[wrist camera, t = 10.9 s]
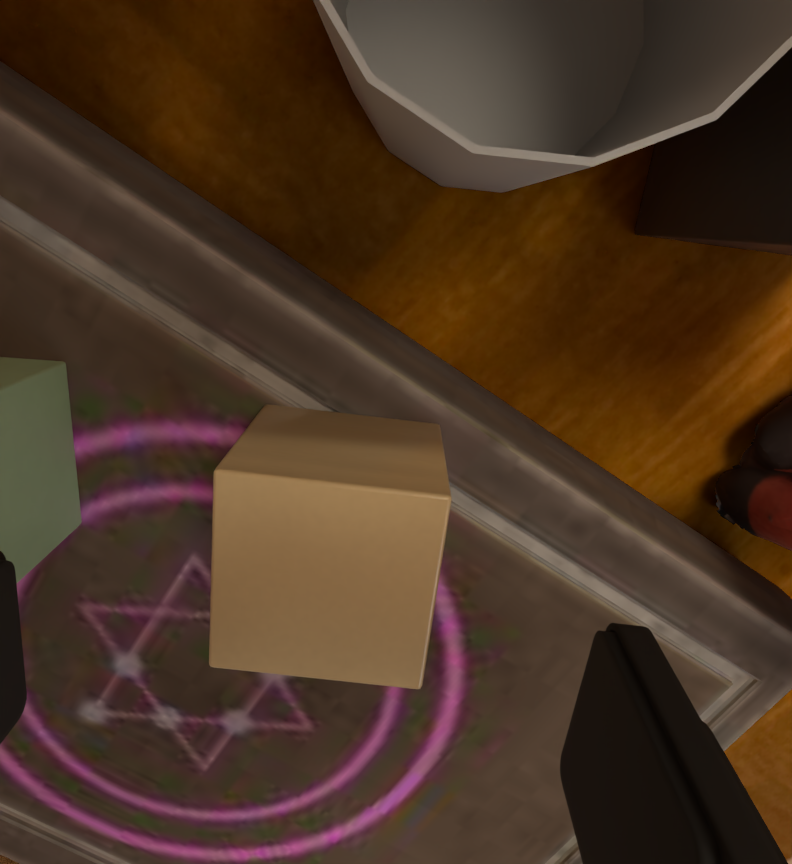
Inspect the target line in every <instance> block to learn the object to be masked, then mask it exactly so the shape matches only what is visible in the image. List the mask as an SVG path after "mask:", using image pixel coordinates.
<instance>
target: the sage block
mask: <svg viewBox="0 0 792 864" xmlns="http://www.w3.org/2000/svg"><path fill="white" fill-rule="evenodd" d="M81 522H82V520H81V510H80V500H79V490H78V480H77V470H76V460H75V450H74V440H73V430H72V420H71V410H70V400H69V390H68V380H67V370H66V363H65V362H63V361H50V360H36V359H22V358H8V357H0V551H1V552H3V554H4V555H5V557H6V560H7V561H11V562H12V563H13V564H14V567H15V573H16V583H18V582H19V581H20V580H21V579H22V578H23V577H24V576H25V575H26V574H27V573H29V572H30V571H31V570H32V569H33V568H34V567H35V566H36V565H37V564H38V563H39V562H40V561H41V560H43V559H44V558H45V557H46V556H47V555H48V554H49V553H50V552H51V551H52V550H53V549H54V548H55V547H57V546H58V545H59V544H60V543H61V542H62V541H63V540H64V539H65V538H66V537H67V536H68V535H69V534H71V533H72V532H73V531H74V530H75V529H76V528H77V527H78V526H79V525H80V524H81Z"/></svg>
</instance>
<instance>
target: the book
mask: <svg viewBox="0 0 792 864" xmlns="http://www.w3.org/2000/svg"><path fill="white" fill-rule="evenodd" d="M0 357H8V358H22V359H36V360H50V361H63V362H65V363H66V370H67V380H68V390H69V400H70V410H71V420H72V430H73V440H74V450H75V460H76V470H77V480H78V490H79V500H80V510H81V520H82V522H81V524H80V525H79V526H78V527H77V528H76V529H75V530H74V531H73V532H72V533H71V534H69V535H68V536H67V537H66V538H65V539H64V540H63V541H62V542H61V543H60V544H59V545H58V546H57V547H55V548H54V549H53V550H52V551H51V552H50V553H49V554H48V555H47V556H46V557H45V558H44V559H43V560H41V561H40V562H39V563H38V564H37V565H36V566H35V567H34V568H33V569H32V570H31V571H30V572H29V573H27V574H26V575H25V576H24V577H23V578H22V579H21V580H20V581H19V582H18V583H17V594H18V605H19V615H20V626H21V636H22V647H23V658H24V668H25V679H26V689H27V700H26V705H25V708H24V711H23V713H22V715H21V717H20V719H19V720H18V722H17V723H16V724H15V726H14V727H13V728H12V730H11V731H10V732H9V734H8V735H7V736H6V737H5V739H4V740H3V741H2V743H1V744H0V855H2V856H5V857H7V858H9V859H11V860H14V861H16V862H18V863H20V864H583V862H582V859H581V855H580V851H579V847H578V843H577V840H576V836H575V832H574V828H573V824H572V820H571V817H570V813H569V809H568V805H567V801H566V798H565V794H564V790H563V786H562V782H561V776H560V759H561V754H562V750H563V747H564V743H565V739H566V736H567V732H568V729H569V725H570V721H571V718H572V714H573V711H574V707H575V703H576V700H577V696H578V693H579V689H580V686H581V682H582V678H583V675H584V671H585V668H586V664H587V660H588V657H589V653H590V650H591V646H592V642H593V639H594V636H595V634H596V632H597V631H599V630H600V631H606V628H607V626H608V625H609V624H611V623H619V624H627V625H636V626H644V627H647V628H649V629H650V631H651V632H652V634H653V635H654V637H655V639H656V641H657V643H658V644H659V646H660V648H661V650H662V651H663V653H664V655H665V657H666V658H667V660H668V662H669V664H670V665H671V667H672V669H673V671H674V673H675V674H676V676H677V678H678V680H679V681H680V683H681V685H682V687H683V688H684V690H685V692H686V694H687V696H688V697H689V699H690V701H691V703H692V704H693V706H694V708H695V710H696V711H697V713H698V715H699V717H700V718H701V720H702V721H703V722H705V723H706V724H707V725H708V727H709V728H710V729H711V731H712V732H713V734H714V735H715V737H716V739H717V741H718V742H719V744H720V746H721V748H722V749H723V751H725V750H726V749H727V748H728V747H729V746H730V745H731V744H732V743H733V742H734V741H736V740H737V739H738V738H739V737H740V736H741V735H742V734H743V733H744V732H745V731H746V730H748V729H749V728H750V727H751V726H752V725H753V724H754V723H755V722H756V721H757V720H758V719H760V718H761V717H762V716H763V715H764V714H765V713H766V712H767V711H768V710H769V709H770V708H771V707H773V706H774V705H775V704H776V703H777V702H778V701H779V700H780V699H781V698H782V697H783V696H785V695H786V694H787V693H788V692H789V691H790V690H791V689H792V599H791V598H790V597H789V596H788V595H787V594H786V593H784V592H783V591H782V590H781V589H780V588H779V587H778V586H776V585H775V584H773V583H772V582H770V581H769V580H767V579H766V578H765V577H763V576H762V575H760V574H759V573H757V572H756V571H754V570H753V569H751V568H750V567H748V566H747V565H745V564H744V563H742V562H741V561H739V560H738V559H736V558H735V557H733V556H732V555H730V554H729V553H728V552H726V551H725V550H723V549H722V548H720V547H719V546H717V545H716V544H714V543H713V542H711V541H710V540H708V539H707V538H705V537H704V536H702V535H701V534H699V533H698V532H696V531H695V530H694V529H692V528H691V527H689V526H688V525H686V524H685V523H683V522H682V521H680V520H679V519H677V518H676V517H674V516H673V515H671V514H670V513H668V512H667V511H665V510H664V509H662V508H661V507H659V506H658V505H657V504H655V503H654V502H652V501H651V500H649V499H648V498H646V497H645V496H643V495H642V494H640V493H639V492H637V491H636V490H634V489H633V488H631V487H630V486H628V485H627V484H625V483H624V482H622V481H621V480H620V479H618V478H617V477H615V476H614V475H612V474H611V473H609V472H608V471H606V470H605V469H603V468H602V467H600V466H599V465H597V464H596V463H594V462H593V461H591V460H590V459H588V458H587V457H585V456H584V455H583V454H581V453H580V452H578V451H577V450H575V449H574V448H572V447H571V446H569V445H568V444H566V443H565V442H563V441H562V440H560V439H559V438H557V437H556V436H554V435H553V434H551V433H550V432H548V431H547V430H546V429H544V428H543V427H541V426H540V425H538V424H537V423H535V422H534V421H532V420H531V419H529V418H528V417H526V416H525V415H523V414H522V413H520V412H519V411H517V410H516V409H514V408H513V407H511V406H510V405H509V404H507V403H506V402H504V401H503V400H501V399H500V398H498V397H497V396H495V395H494V394H492V393H491V392H489V391H488V390H486V389H485V388H483V387H482V386H480V385H479V384H477V383H476V382H474V381H473V380H472V379H470V378H469V377H467V376H466V375H464V374H463V373H461V372H460V371H458V370H457V369H455V368H454V367H452V366H451V365H449V364H448V363H446V362H445V361H443V360H442V359H440V358H439V357H437V356H436V355H435V354H433V353H432V352H430V351H429V350H427V349H426V348H424V347H423V346H421V345H420V344H418V343H417V342H415V341H414V340H412V339H411V338H409V337H408V336H406V335H405V334H403V333H402V332H400V331H399V330H398V329H396V328H395V327H393V326H392V325H390V324H389V323H387V322H386V321H384V320H383V319H381V318H380V317H378V316H377V315H375V314H374V313H372V312H371V311H369V310H368V309H366V308H365V307H363V306H362V305H361V304H359V303H358V302H356V301H355V300H353V299H352V298H350V297H349V296H347V295H346V294H344V293H343V292H341V291H340V290H338V289H337V288H335V287H334V286H332V285H331V284H329V283H328V282H326V281H325V280H324V279H322V278H321V277H319V276H318V275H316V274H315V273H313V272H312V271H310V270H309V269H307V268H306V267H304V266H303V265H301V264H300V263H298V262H297V261H295V260H294V259H292V258H291V257H289V256H288V255H287V254H285V253H284V252H282V251H281V250H279V249H278V248H276V247H275V246H273V245H272V244H270V243H269V242H267V241H266V240H264V239H263V238H261V237H260V236H258V235H257V234H255V233H254V232H252V231H251V230H250V229H248V228H247V227H245V226H244V225H242V224H241V223H239V222H238V221H236V220H235V219H233V218H232V217H230V216H229V215H227V214H226V213H224V212H223V211H221V210H220V209H218V208H217V207H215V206H214V205H213V204H211V203H210V202H208V201H207V200H205V199H204V198H202V197H201V196H199V195H198V194H196V193H195V192H193V191H192V190H190V189H189V188H187V187H186V186H184V185H183V184H181V183H180V182H178V181H177V180H176V179H174V178H173V177H171V176H170V175H168V174H167V173H165V172H164V171H162V170H161V169H159V168H158V167H156V166H155V165H153V164H152V163H150V162H149V161H147V160H146V159H144V158H143V157H141V156H140V155H139V154H137V153H136V152H134V151H133V150H131V149H130V148H128V147H127V146H125V145H124V144H122V143H121V142H119V141H118V140H116V139H115V138H113V137H112V136H110V135H109V134H107V133H106V132H104V131H103V130H102V129H100V128H99V127H97V126H96V125H94V124H93V123H91V122H90V121H88V120H87V119H85V118H84V117H82V116H81V115H79V114H78V113H76V112H75V111H73V110H72V109H70V108H69V107H67V106H66V105H65V104H63V103H62V102H60V101H59V100H57V99H56V98H54V97H53V96H51V95H50V94H48V93H47V92H45V91H44V90H42V89H41V88H39V87H38V86H36V85H35V84H33V83H32V82H30V81H29V80H28V79H26V78H25V77H23V76H22V75H20V74H19V73H17V72H16V71H14V70H13V69H11V68H10V67H8V66H7V65H5V64H4V63H2V62H1V61H0ZM267 404H269V405H278V406H286V407H295V408H303V409H312V410H321V411H329V412H338V413H347V414H355V415H364V416H373V417H381V418H390V419H399V420H407V421H416V422H424V423H433V424H438V425H440V428H441V435H442V441H443V447H444V454H445V460H446V466H447V473H448V479H449V485H450V492H451V498H452V501H451V507H450V513H449V520H448V526H447V532H446V539H445V545H444V551H443V558H442V564H441V570H440V577H439V583H438V589H437V596H436V602H435V608H434V615H433V621H432V627H431V634H430V640H429V646H428V653H427V659H426V665H425V672H424V678H423V685H422V686H421V688H420V689H410V688H401V687H391V686H382V685H373V684H363V683H354V682H345V681H335V680H326V679H317V678H307V677H298V676H289V675H279V674H270V673H261V672H251V671H242V670H233V669H223V668H214V667H211V666H210V665H209V636H210V595H211V555H212V514H213V474H214V470H215V469H216V467H217V466H218V465H219V463H220V462H221V461H222V460H223V458H224V457H225V456H226V454H227V453H228V452H229V451H230V449H231V448H232V447H233V445H234V444H235V443H236V442H237V440H238V439H239V438H240V436H241V435H242V434H243V432H244V431H245V430H246V429H247V427H248V426H249V425H250V423H251V422H252V421H253V420H254V418H255V417H256V416H257V414H258V413H259V412H260V411H261V409H262V408H263V407H264V405H267Z"/></svg>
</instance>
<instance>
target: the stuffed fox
mask: <svg viewBox="0 0 792 864" xmlns="http://www.w3.org/2000/svg"><path fill="white" fill-rule="evenodd" d="M780 402H781V403H780V404H779V405H777V406H776V408H775V409H773V410H772V411H770V412H769V413H768V414H766V415H765V416H764V417H763V418H762V419H761V420H760V422H759V424H757V425H756V427H755V436H754V437H755V438H754V439H753V442H752V443H751V444H752V445H751V446H749V447H748V448H747V449H746V450H745V452H744V453H743V455H742V457H741V460H740V465H736V466H733V469H731V470H728V471H726V472H725V473H723V474H722V475H721V476H720V477H719V478H718V480H717V482H716V486H715V488H716V490H715V492H716V495H715V497H716V498H717V500H718V502H717V503H716V505H717V507H718V508H719V510H717V512H718V513H719V514H720V515H721V516H722V517H723V518H725V519H726V520H728V521H730V522H731V523H732V524H737V525H739V526H740V527H741V528H742V529H745V530H747V531H748V532H750V533H751V534H753V535H755V536H758V537H761V538H764V539H766V540H769V541H771V542H773V543H776V544H778V545H780V546H782V547H784V548H787V549H789V550H791V551H792V395H791V396H789V397H787V398H785V399H784V400H782V401H780Z"/></svg>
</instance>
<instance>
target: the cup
mask: <svg viewBox="0 0 792 864" xmlns="http://www.w3.org/2000/svg"><path fill="white" fill-rule="evenodd" d="M313 1H314V4H315V6H316V8H317V11H318V13H319V15H320V17H321V20H322V22H323V24H324V27H325V29H326V31H327V34H328V36H329V38H330V40H331V43H332V45H333V47H334V50H335V52H336V54H337V56H338V59H339V61H340V63H341V66H342V68H343V70H344V72H345V75H346V77H347V79H348V82H349V84H350V86H351V88H352V91H353V93H354V94H355V96H356V98H357V100H358V101H359V103H360V105H361V106H362V108H363V110H364V111H365V113H366V115H367V116H368V118H369V120H370V121H371V123H372V125H373V126H374V128H375V130H376V131H377V133H378V135H379V136H380V138H381V140H382V141H383V143H384V145H385V147H386V148H387V150H388V151H389V152H390V153H392V154H393V155H395V156H396V157H398V158H399V159H401V160H402V161H404V162H405V163H407V164H408V165H410V166H411V167H413V168H414V169H416V170H417V171H419V172H420V173H422V174H423V175H425V176H426V177H428V178H429V179H431V180H433V181H434V182H436V183H437V184H439V185H440V186H444V187H453V188H463V189H472V190H481V191H491V192H500V193H503V192H507V191H510V190H514V189H517V188H521V187H524V186H528V185H531V184H535V183H538V182H542V181H545V180H549V179H552V178H555V177H559V176H562V175H566V174H569V173H573V172H576V171H580V170H583V169H587V168H590V167H594V166H596V165H599V164H602V163H604V162H607V161H610V160H612V159H615V158H617V157H620V156H623V155H625V154H628V153H631V152H633V151H636V150H639V149H641V148H644V147H647V146H649V145H652V144H654V143H657V142H660V141H662V140H665V139H668V138H670V137H673V136H676V135H678V134H681V133H684V132H686V131H689V130H691V129H694V128H697V127H699V126H702V125H705V124H707V123H710V122H713V121H715V120H717V119H718V118H719V117H720V116H721V115H722V114H723V113H724V112H725V111H726V110H727V109H728V108H729V107H730V106H731V105H733V104H734V103H735V102H736V101H737V100H738V99H739V98H740V97H741V96H742V95H743V94H744V93H745V92H746V91H747V90H748V89H749V88H750V87H751V86H752V85H753V84H754V83H755V82H756V81H757V80H758V79H759V78H760V77H761V76H763V75H764V74H765V73H766V72H767V71H768V70H769V69H770V68H771V67H772V66H773V65H774V64H775V63H776V62H777V61H778V60H779V59H780V58H781V57H782V56H783V55H784V54H785V53H786V52H787V51H788V50H789V49H790V48H792V0H313Z"/></svg>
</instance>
